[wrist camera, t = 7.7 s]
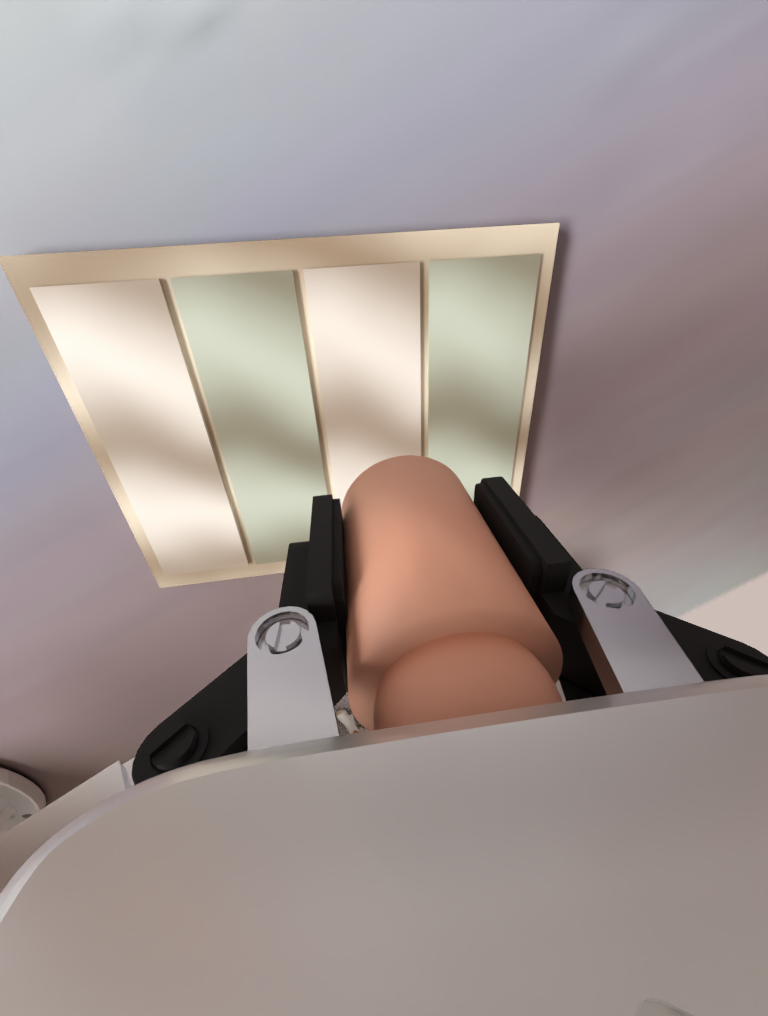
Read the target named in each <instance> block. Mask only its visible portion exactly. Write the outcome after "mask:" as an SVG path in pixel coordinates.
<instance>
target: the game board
mask: <svg viewBox="0 0 768 1016" xmlns="http://www.w3.org/2000/svg"><path fill="white" fill-rule="evenodd" d="M559 224H560V223H546V224H529V225H512V226H496V227H479V228H463V229H446V230H430V231H413V232H396V233H380V234H363V235H347V236H330V237H313V238H297V239H280V240H264V241H247V242H231V243H214V244H197V245H181V246H164V247H148V248H131V249H114V250H98V251H81V252H65V253H48V254H32V255H15V256H0V264H1V266H2V268H3V270H4V272H5V274H6V276H7V278H8V280H9V282H10V284H11V286H12V288H13V290H14V293H15V295H16V297H17V299H18V301H19V303H20V305H21V307H22V309H23V311H24V313H25V315H26V317H27V319H28V321H29V323H30V325H31V327H32V329H33V331H34V333H35V335H36V337H37V339H38V341H39V343H40V345H41V347H42V349H43V351H44V353H45V355H46V357H47V360H48V362H49V364H50V366H51V368H52V370H53V372H54V374H55V376H56V378H57V380H58V382H59V384H60V386H61V388H62V390H63V392H64V394H65V396H66V398H67V400H68V402H69V404H70V406H71V408H72V410H73V412H74V414H75V416H76V418H77V420H78V422H79V424H80V426H81V429H82V431H83V433H84V435H85V437H86V439H87V441H88V443H89V445H90V447H91V449H92V451H93V453H94V455H95V457H96V459H97V461H98V463H99V465H100V467H101V469H102V471H103V473H104V475H105V477H106V479H107V481H108V483H109V485H110V487H111V489H112V491H113V493H114V495H115V498H116V500H117V502H118V504H119V506H120V508H121V510H122V512H123V514H124V516H125V518H126V520H127V522H128V524H129V526H130V528H131V530H132V532H133V534H134V536H135V538H136V540H137V542H138V544H139V546H140V548H141V550H142V552H143V554H144V556H145V558H146V560H147V562H148V564H149V567H150V569H151V571H152V573H153V575H154V577H155V579H156V581H157V583H158V585H159V587H160V588H164V587H172V586H180V585H188V584H196V583H204V582H212V581H220V580H228V579H236V578H244V577H252V576H260V575H268V574H276V573H284V572H285V566H286V559H287V553H288V547H289V544H290V543H295V542H304V541H309V537H310V525H311V513H312V501H313V496H320V495H330V494H332V496H333V499H338V498H340V503H341V510H342V504H343V500H344V497H345V495H346V493H347V491H348V489H349V487H350V486H351V484H352V483H353V482H354V480H355V479H356V478H357V477H358V476H359V475H360V474H361V473H362V472H364V471H365V470H366V469H368V468H369V467H371V466H372V465H374V464H376V463H378V462H380V461H383V460H385V459H389V458H392V457H397V456H403V455H416V456H423V457H428V458H431V459H434V460H437V461H439V462H441V463H442V464H444V465H446V466H447V467H448V468H450V469H451V470H452V471H453V472H454V473H455V474H456V475H457V477H458V478H459V479H460V481H461V483H462V484H463V486H464V488H465V489H466V491H467V492H468V494H469V496H470V497H471V499H472V501H473V502H474V490H475V485H476V484H478V483H480V482H481V480H482V479H483V478H490V477H499V476H502V477H503V478H504V479H505V480H506V481H507V483H508V484H509V485H510V486H511V487H512V489H513V490H514V491H515V492H516V494H517V495H518V496H519V494H520V488H521V481H522V474H523V467H524V461H525V454H526V447H527V440H528V434H529V427H530V420H531V413H532V407H533V400H534V393H535V386H536V380H537V373H538V366H539V359H540V352H541V346H542V339H543V332H544V325H545V319H546V312H547V305H548V298H549V292H550V285H551V278H552V271H553V265H554V258H555V251H556V244H557V238H558V231H559Z"/></svg>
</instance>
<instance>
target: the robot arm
mask: <svg viewBox="0 0 768 1016" xmlns="http://www.w3.org/2000/svg"><path fill="white" fill-rule="evenodd" d="M474 504H475V506H476V507H477V509H478V510H479V512H480V514H481V515H482V517H483V519H484V520H485V522H486V524H487V525H488V527H489V528H490V530H491V532H492V533H493V535H494V537H495V538H496V540H497V542H498V543H499V545H500V546H501V548H502V550H503V551H504V553H505V555H506V556H507V558H508V560H509V561H510V563H511V564H512V566H513V568H514V569H515V571H516V573H517V574H518V576H519V578H520V579H521V581H522V582H523V584H524V586H525V587H526V589H527V591H528V592H529V594H530V596H531V597H532V599H533V600H534V602H535V604H536V605H537V607H538V609H539V610H540V612H541V614H542V615H543V617H544V619H545V620H546V622H547V623H548V625H549V627H550V628H551V630H552V632H553V633H554V635H555V637H556V638H557V640H558V642H559V644H560V646H561V650H562V654H563V665H562V670H561V674H560V676H559V679H558V681H557V683H556V684H555V685H556V687H557V689H558V692H559V694H560V696H561V698H562V701H563V702H558V703H551V704H544V705H538V706H531V707H524V708H517V709H511V710H504V711H497V712H491V713H484V714H477V715H470V716H464V717H457V718H450V719H444V720H437V721H431V722H424V723H418V724H411V725H405V726H398V727H392V728H385V729H379V730H372V731H366V732H359V733H353V734H346V735H340V731H339V726H338V722H337V717H336V712H335V707H334V706H335V705H336V704H337V703H338V702H339V701H340V700H341V698H342V697H343V696H344V695H345V694H346V692H348V675H347V649H346V625H347V602H346V579H345V556H344V534H343V517H342V510H341V503H340V498H338V499H333V496H332V494H330V495H320V496H313V501H312V513H311V525H310V537H309V541H304V542H295V543H290V544H289V547H288V553H287V559H286V566H285V572H284V579H283V585H282V591H281V598H280V604H279V608H278V609H275V610H272V611H270V612H268V613H266V614H265V615H263V616H262V617H260V618H259V619H258V620H257V621H256V622H255V623H254V625H253V626H252V628H251V630H250V631H249V634H248V640H247V654H246V655H244V656H243V657H242V658H241V659H239V660H238V661H237V662H236V663H235V664H233V665H232V666H231V667H230V668H228V669H227V670H226V671H225V672H223V673H222V674H221V675H220V676H219V677H217V678H216V679H215V680H214V681H212V682H211V683H210V684H209V685H207V686H206V687H205V688H204V689H203V690H201V691H200V692H199V693H198V694H196V695H195V696H194V697H193V698H191V699H190V700H189V701H188V702H187V703H185V704H184V705H183V706H182V707H180V708H179V709H178V710H177V711H175V712H174V713H173V714H172V715H171V716H169V717H168V718H167V719H166V720H164V721H163V722H162V723H161V724H159V725H158V726H157V727H156V728H155V729H154V730H153V731H152V732H151V733H150V734H149V735H148V736H147V737H146V739H145V740H144V742H143V743H142V744H141V746H140V747H139V749H138V751H137V753H136V756H135V757H134V758H132V759H131V760H129V761H127V762H126V763H124V764H122V763H121V762H120V761H119V760H118V761H117V762H115V763H113V764H112V765H110V766H109V767H107V768H106V769H104V770H102V771H101V772H99V773H98V774H96V775H95V776H93V777H91V778H90V779H88V780H87V781H85V782H84V783H82V784H80V785H79V786H77V787H76V788H74V789H73V790H71V791H69V792H68V793H66V794H65V795H63V796H62V797H60V798H58V799H57V800H55V801H54V802H52V803H51V804H49V805H47V806H46V807H45V805H46V799H45V796H44V794H43V792H42V791H41V789H40V788H39V787H38V786H37V785H35V784H34V783H33V782H32V781H30V780H29V779H27V778H25V777H23V776H22V775H19V774H17V773H15V772H12V771H10V770H8V769H4V768H1V767H0V1016H768V657H767V656H766V655H764V654H762V653H761V652H760V651H758V650H756V649H755V648H752V647H750V646H748V645H746V644H744V643H742V642H739V641H736V640H734V639H731V638H728V637H726V636H723V635H720V634H717V633H715V632H712V631H710V630H707V629H704V628H702V627H699V626H696V625H694V624H691V623H688V622H686V621H683V620H680V619H678V618H675V617H672V616H670V615H667V614H664V613H662V612H659V611H656V610H654V608H653V607H652V605H651V604H650V602H649V601H648V600H647V598H646V597H645V595H644V594H643V592H642V591H641V590H640V588H639V587H638V586H637V585H636V584H635V583H634V582H632V581H631V580H629V579H628V578H626V577H625V576H623V575H620V574H618V573H616V572H613V571H609V570H605V569H596V568H593V569H585V570H582V569H581V567H580V566H579V565H578V564H577V563H576V561H575V560H574V559H573V558H572V557H571V555H570V554H569V553H568V552H567V551H566V549H565V548H564V547H563V546H562V545H561V543H560V542H559V541H558V540H557V539H556V538H555V536H554V535H553V534H552V533H551V532H550V530H549V529H548V528H547V527H546V526H545V524H544V523H543V522H542V521H541V520H540V519H539V518H538V517H537V516H535V515H534V514H533V513H532V512H531V510H530V509H529V508H528V507H527V506H526V504H525V503H524V502H523V501H522V500H521V498H520V497H519V496H518V495H517V494H516V492H515V491H514V490H513V489H512V487H511V486H510V485H509V484H508V483H507V481H506V480H505V479H504V478H503V477H502V476H499V477H490V478H483V479H482V480H481V482H480V483H478V484H476V485H475V490H474Z"/></svg>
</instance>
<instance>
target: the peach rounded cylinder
mask: <svg viewBox="0 0 768 1016" xmlns="http://www.w3.org/2000/svg"><path fill="white" fill-rule="evenodd" d="M342 517H343V534H344V556H345V579H346V602H347V625H346V649H347V675H348V698H349V705H350V708H351V711H352V713H353V715H354V717H355V718H356V719H357V721H358V722H359V723H360V724H361V725H362V726H363V727H364V728H366V729H367V730H368V731H372V730H379V729H385V728H392V727H398V726H405V725H411V724H418V723H424V722H431V721H437V720H444V719H450V718H457V717H464V716H470V715H477V714H484V713H491V712H497V711H504V710H511V709H517V708H524V707H531V706H538V705H544V704H551V703H558V702H563V701H562V698H561V696H560V694H559V692H558V689H557V687H556V685H555V684H556V683H557V681H558V679H559V676H560V674H561V670H562V665H563V654H562V650H561V646H560V644H559V642H558V640H557V638H556V637H555V635H554V633H553V632H552V630H551V628H550V627H549V625H548V623H547V622H546V620H545V619H544V617H543V615H542V614H541V612H540V610H539V609H538V607H537V605H536V604H535V602H534V600H533V599H532V597H531V596H530V594H529V592H528V591H527V589H526V587H525V586H524V584H523V582H522V581H521V579H520V578H519V576H518V574H517V573H516V571H515V569H514V568H513V566H512V564H511V563H510V561H509V560H508V558H507V556H506V555H505V553H504V551H503V550H502V548H501V546H500V545H499V543H498V542H497V540H496V538H495V537H494V535H493V533H492V532H491V530H490V528H489V527H488V525H487V524H486V522H485V520H484V519H483V517H482V515H481V514H480V512H479V510H478V509H477V507H476V506H475V504H474V502H473V501H472V499H471V497H470V496H469V494H468V492H467V491H466V489H465V488H464V486H463V484H462V483H461V481H460V479H459V478H458V477H457V475H456V474H455V473H454V472H453V471H452V470H451V469H450V468H448V467H447V466H446V465H444V464H442V463H441V462H439V461H437V460H434V459H431V458H428V457H423V456H416V455H403V456H397V457H392V458H389V459H385V460H383V461H380V462H378V463H376V464H374V465H372V466H371V467H369V468H368V469H366V470H365V471H364V472H362V473H361V474H360V475H359V476H358V477H357V478H356V479H355V480H354V482H353V483H352V484H351V486H350V487H349V489H348V491H347V493H346V495H345V497H344V500H343V504H342Z"/></svg>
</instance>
